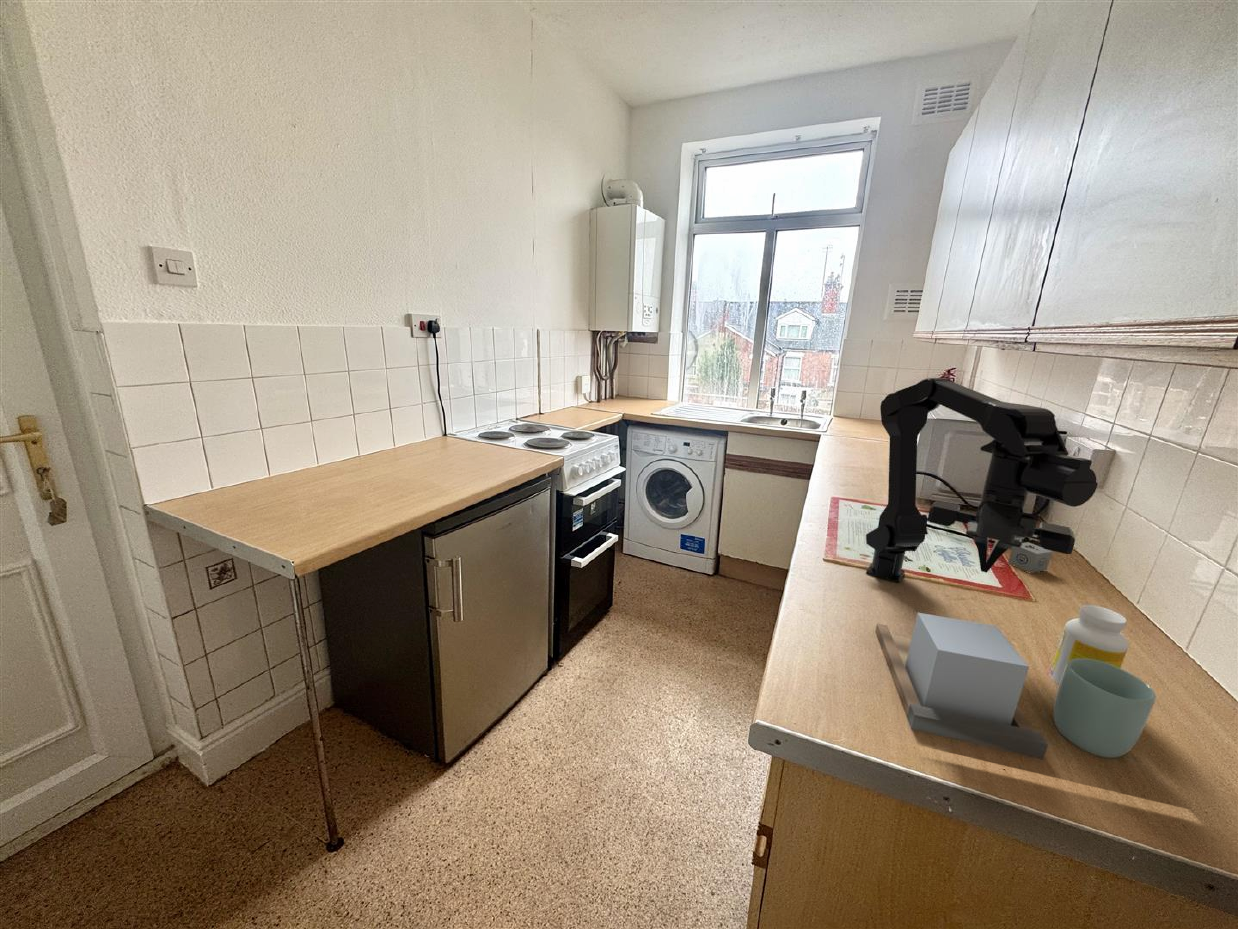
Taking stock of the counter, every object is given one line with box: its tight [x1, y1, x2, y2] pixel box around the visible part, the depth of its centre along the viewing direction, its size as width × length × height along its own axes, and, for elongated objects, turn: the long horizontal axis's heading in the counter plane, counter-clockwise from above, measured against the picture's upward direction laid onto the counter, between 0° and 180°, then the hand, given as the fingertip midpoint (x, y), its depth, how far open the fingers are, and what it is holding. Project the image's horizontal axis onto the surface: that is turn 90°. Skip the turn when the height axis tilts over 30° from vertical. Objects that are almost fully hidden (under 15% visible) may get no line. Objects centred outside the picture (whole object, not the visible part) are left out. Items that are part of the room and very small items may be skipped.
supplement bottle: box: [1049, 604, 1129, 686], centre depth 69 cm, size 7×7×13 cm
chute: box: [874, 623, 1049, 760], centre depth 70 cm, size 22×14×3 cm, turn 163°
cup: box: [1053, 658, 1156, 759], centre depth 60 cm, size 8×8×10 cm
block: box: [905, 612, 1030, 726], centre depth 66 cm, size 9×10×10 cm
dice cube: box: [1007, 542, 1053, 574], centre depth 109 cm, size 5×5×5 cm
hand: (984, 571), depth 81 cm, fingers closed
